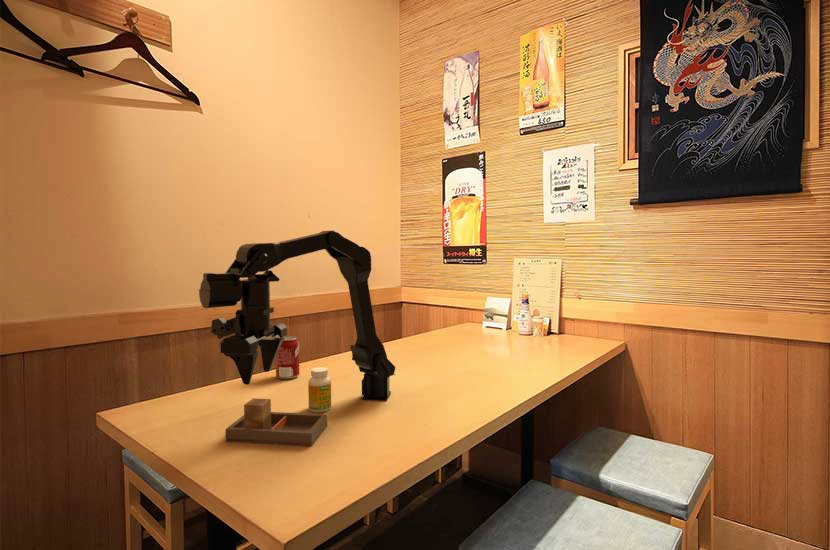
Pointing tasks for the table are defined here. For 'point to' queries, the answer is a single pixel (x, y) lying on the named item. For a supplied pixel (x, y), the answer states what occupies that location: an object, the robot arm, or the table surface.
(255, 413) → the walnut block
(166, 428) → the table surface
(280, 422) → the tray
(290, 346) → the soda can
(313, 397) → the supplement bottle
